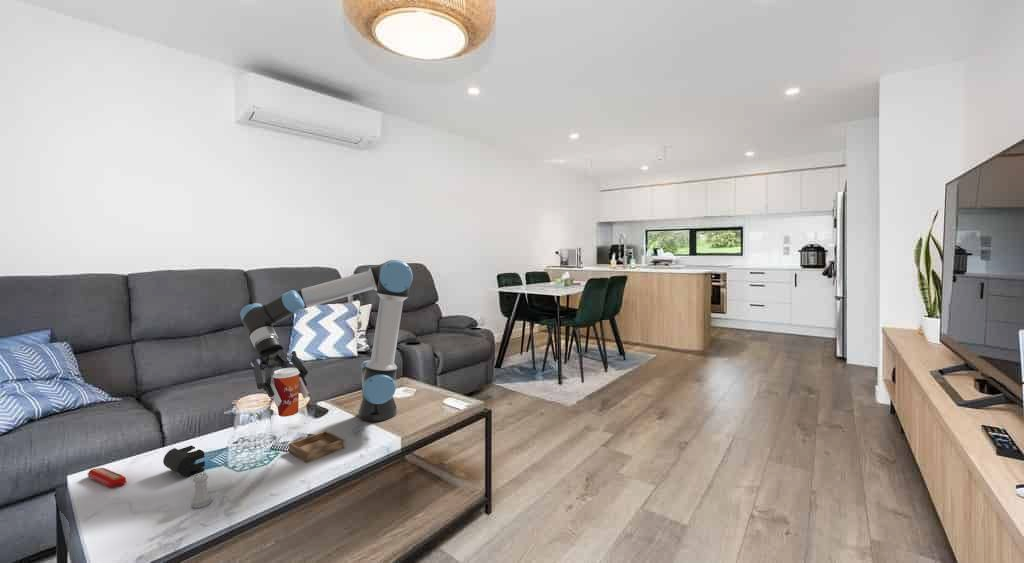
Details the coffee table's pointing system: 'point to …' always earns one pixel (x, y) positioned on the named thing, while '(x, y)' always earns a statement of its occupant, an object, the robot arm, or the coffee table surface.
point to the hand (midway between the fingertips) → (293, 399)
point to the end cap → (184, 461)
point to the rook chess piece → (201, 491)
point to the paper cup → (287, 390)
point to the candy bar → (107, 477)
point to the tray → (316, 446)
